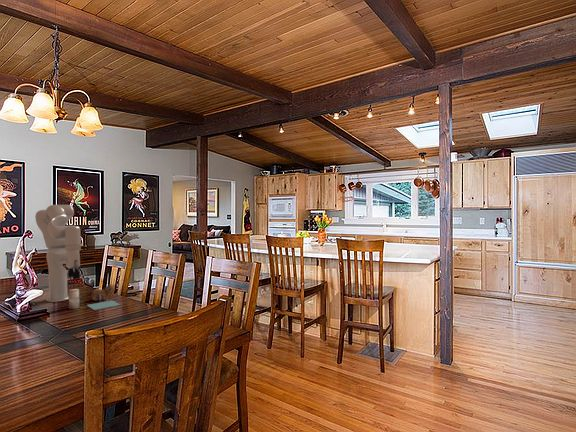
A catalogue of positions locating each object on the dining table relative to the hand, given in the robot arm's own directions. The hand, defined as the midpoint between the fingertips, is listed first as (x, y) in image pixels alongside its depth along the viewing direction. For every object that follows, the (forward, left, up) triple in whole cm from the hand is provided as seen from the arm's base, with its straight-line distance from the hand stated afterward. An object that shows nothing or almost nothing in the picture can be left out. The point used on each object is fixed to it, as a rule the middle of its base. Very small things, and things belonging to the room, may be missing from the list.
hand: (73, 277), depth 198 cm
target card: (+8, +13, -17) cm, 23 cm away
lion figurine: (-7, +17, -17) cm, 25 cm away
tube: (0, 0, -17) cm, 17 cm away
